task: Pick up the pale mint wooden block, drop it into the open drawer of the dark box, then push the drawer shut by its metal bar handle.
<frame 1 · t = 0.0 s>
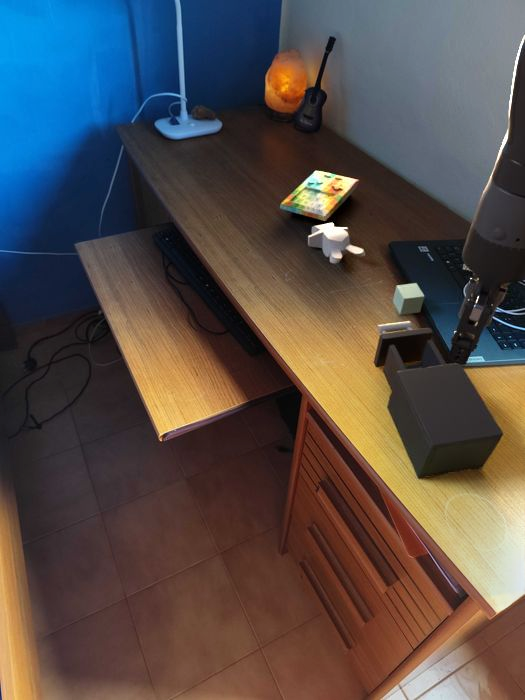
hand: (465, 338, 58), 18 cm above the table, tool pointing down, fingers open, 8 cm apart
drawer: (409, 361, 74), point 4 cm above the table, slide at 7.5 cm
dark box: (432, 435, 70), on the table
puzzle game: (319, 206, 117), on the table
bunny figurine: (332, 252, 103), on the table
block: (406, 306, 90), on the table
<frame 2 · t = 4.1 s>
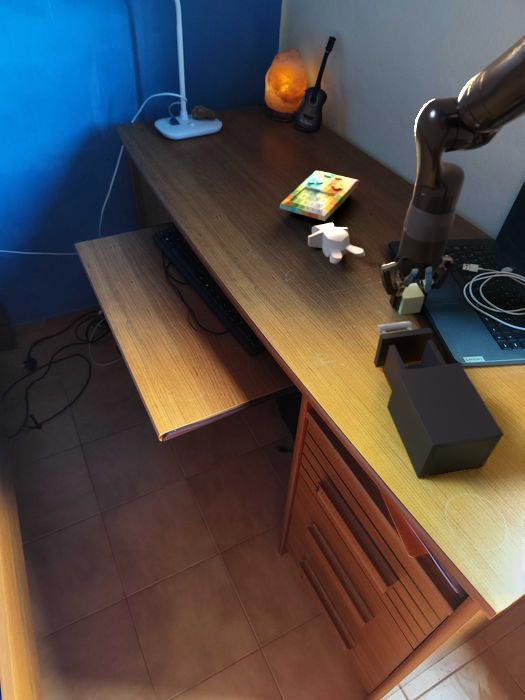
hand: (406, 305, 90), 0 cm above the table, tool pointing down, fingers closed on block, 4 cm apart
block: (406, 306, 90), on the table, touching gripper
everything else where it was.
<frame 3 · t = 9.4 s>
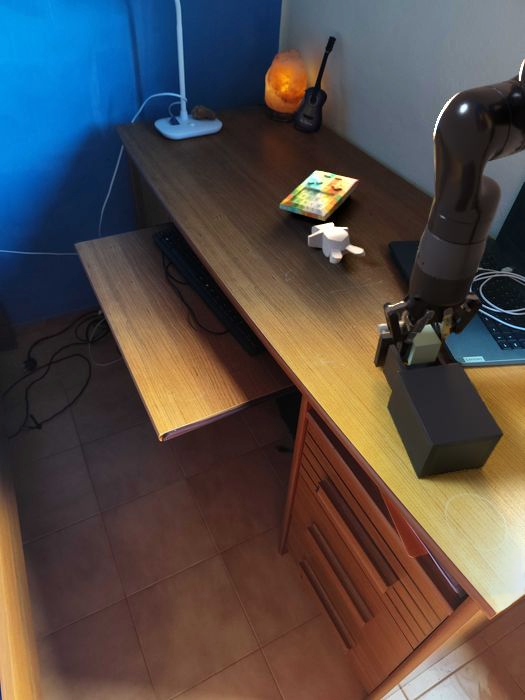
hand: (417, 352, 71), 8 cm above the table, tool pointing down, fingers closed on block, 4 cm apart
block: (417, 353, 71), point 7 cm above the table, touching gripper
everything else where it was.
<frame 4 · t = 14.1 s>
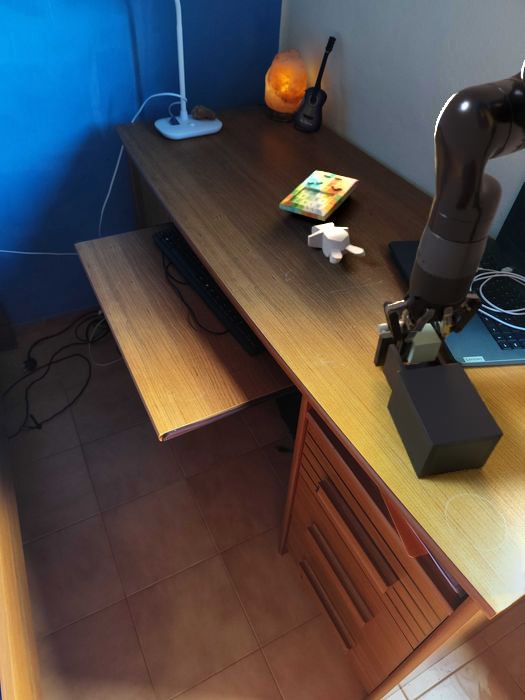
hand: (417, 351, 71), 8 cm above the table, tool pointing down, fingers closed on block, 4 cm apart
block: (417, 352, 71), point 8 cm above the table, touching gripper
everything else where it was.
when the fingers open (9 cm above the table, at t = 18.4 s): block drops 7 cm, resting on drawer.
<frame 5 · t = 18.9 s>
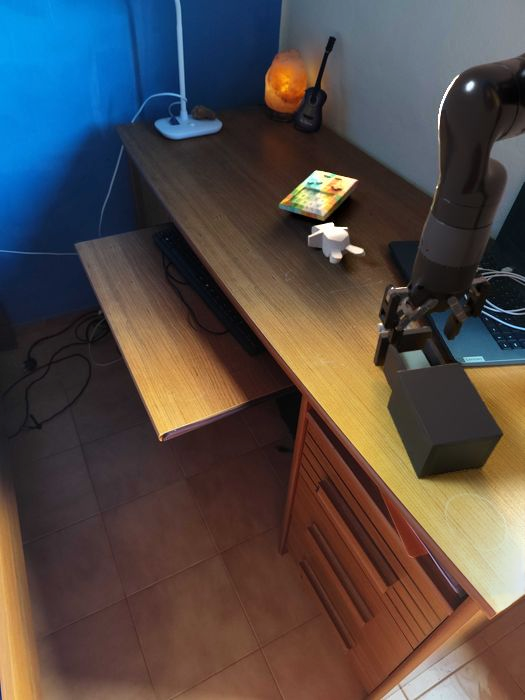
hand: (421, 339, 69), 11 cm above the table, tool pointing down, fingers open, 8 cm apart
drawer: (408, 360, 74), point 4 cm above the table, slide at 7.7 cm, touching block
block: (409, 377, 75), point 2 cm above the table, touching drawer
everything else where it was.
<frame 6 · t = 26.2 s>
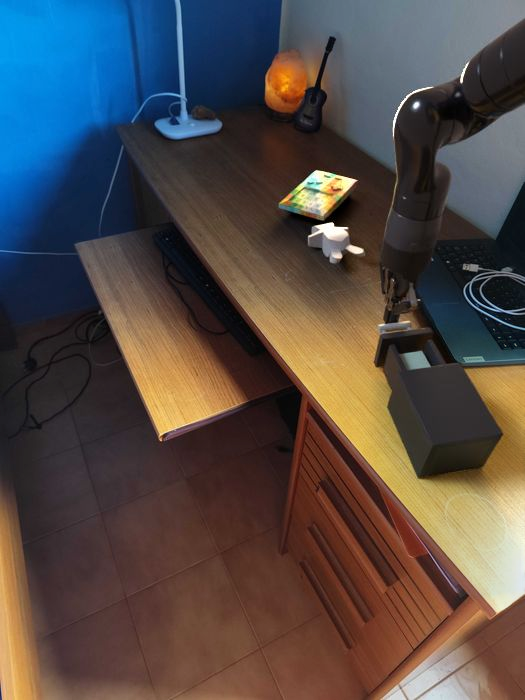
hand: (389, 322, 81), 4 cm above the table, tool pointing down, fingers closed
drawer: (409, 361, 74), point 4 cm above the table, slide at 7.5 cm, touching block, gripper
everything else where it was.
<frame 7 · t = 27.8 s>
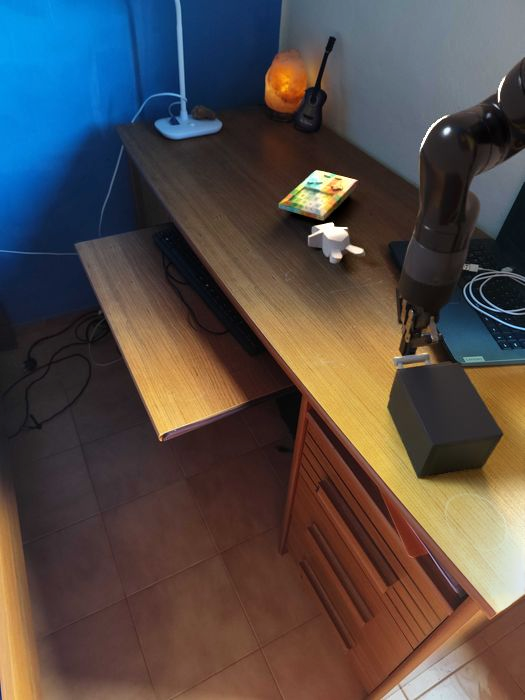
hand: (406, 353, 75), 4 cm above the table, tool pointing down, fingers closed
drawer: (428, 398, 69), point 4 cm above the table, slide at 0.0 cm, touching block, dark box, gripper
block: (428, 416, 70), point 2 cm above the table, touching drawer
everything else where it was.
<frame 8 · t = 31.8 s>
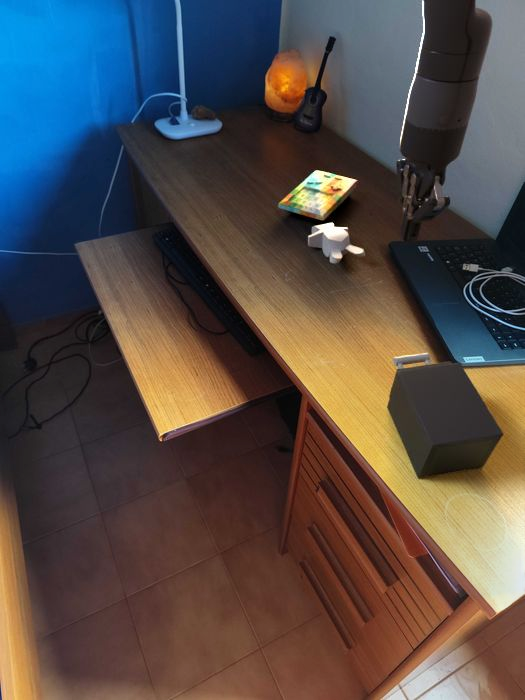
hand: (408, 238, 69), 21 cm above the table, tool pointing down, fingers closed
drawer: (428, 398, 69), point 4 cm above the table, slide at 0.0 cm, touching block
everything else where it was.
at the end: block inside the target area in the dark box (2.2 cm from its centre), point 2.0 cm above the dark box's base; drawer slide at 0.0 cm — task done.
